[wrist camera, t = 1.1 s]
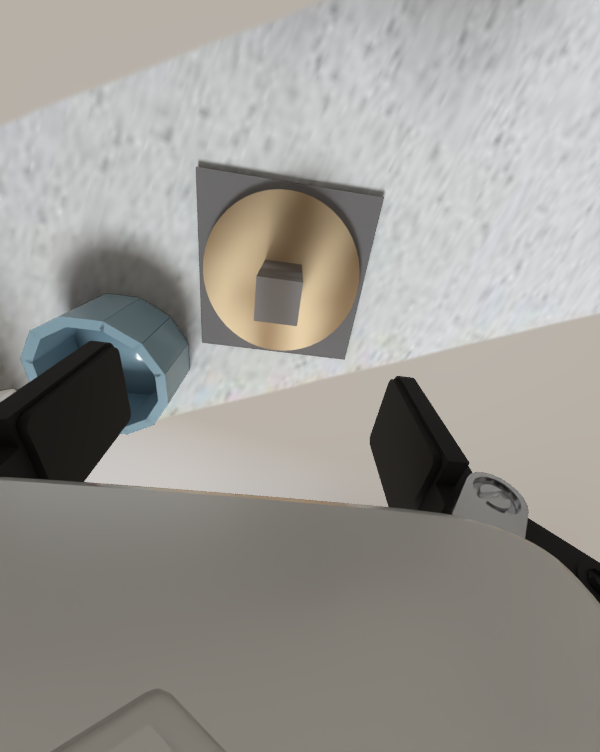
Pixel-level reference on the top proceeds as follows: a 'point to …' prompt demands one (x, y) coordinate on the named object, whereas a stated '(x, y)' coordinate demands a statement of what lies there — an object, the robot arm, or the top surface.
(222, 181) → the mat
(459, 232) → the top surface
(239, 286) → the lid
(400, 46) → the top surface
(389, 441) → the robot arm
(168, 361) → the bowl
